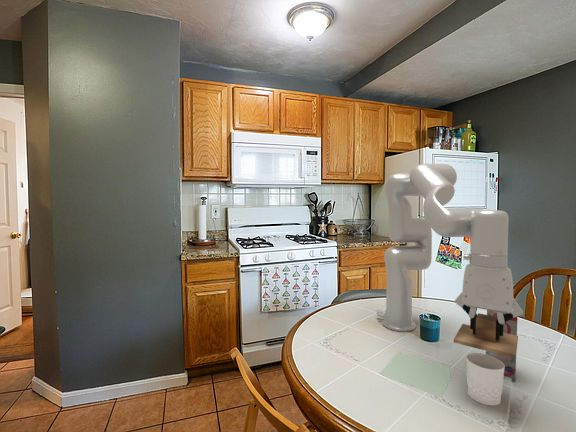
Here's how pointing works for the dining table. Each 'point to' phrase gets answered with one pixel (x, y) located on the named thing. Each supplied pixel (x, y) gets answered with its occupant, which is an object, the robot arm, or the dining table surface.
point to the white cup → (485, 378)
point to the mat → (418, 373)
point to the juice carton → (509, 362)
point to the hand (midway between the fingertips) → (486, 334)
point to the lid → (487, 337)
